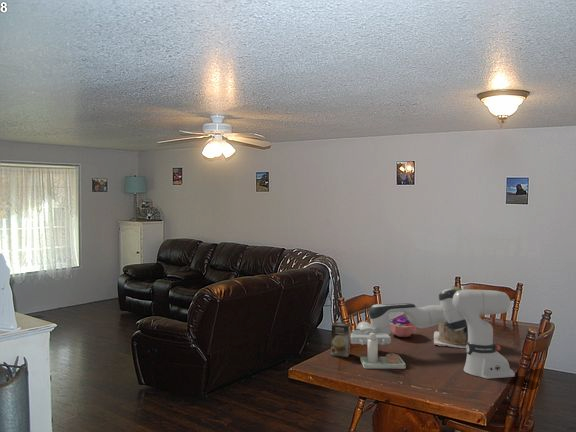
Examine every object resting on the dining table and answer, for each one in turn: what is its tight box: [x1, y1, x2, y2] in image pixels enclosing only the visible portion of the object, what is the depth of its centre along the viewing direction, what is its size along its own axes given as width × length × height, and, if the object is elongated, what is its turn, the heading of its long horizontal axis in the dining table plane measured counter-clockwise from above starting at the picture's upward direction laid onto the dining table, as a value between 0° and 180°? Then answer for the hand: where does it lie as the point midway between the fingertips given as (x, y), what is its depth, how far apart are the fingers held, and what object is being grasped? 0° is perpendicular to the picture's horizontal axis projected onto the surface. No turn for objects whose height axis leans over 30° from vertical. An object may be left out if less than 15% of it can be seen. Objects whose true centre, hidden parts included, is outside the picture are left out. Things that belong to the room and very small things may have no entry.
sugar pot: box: [385, 353, 400, 364], centre depth 251 cm, size 6×6×6 cm
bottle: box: [366, 333, 379, 364], centre depth 250 cm, size 5×5×14 cm
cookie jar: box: [433, 285, 468, 349], centre depth 290 cm, size 25×25×32 cm
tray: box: [359, 355, 407, 370], centre depth 251 cm, size 20×12×2 cm, turn 91°
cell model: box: [389, 315, 417, 338], centre depth 302 cm, size 17×20×11 cm
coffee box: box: [330, 321, 351, 358], centre depth 266 cm, size 9×6×16 cm
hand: (372, 343), depth 249 cm, fingers open, 8 cm apart
